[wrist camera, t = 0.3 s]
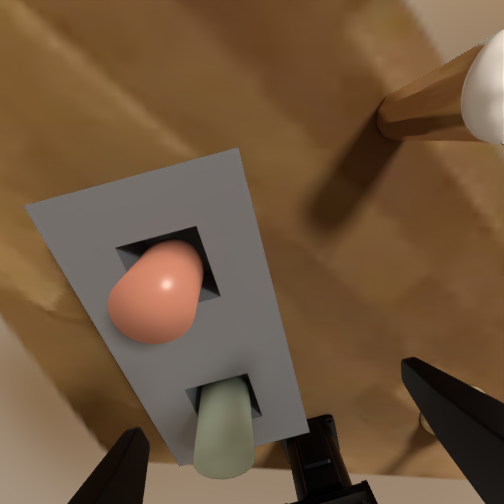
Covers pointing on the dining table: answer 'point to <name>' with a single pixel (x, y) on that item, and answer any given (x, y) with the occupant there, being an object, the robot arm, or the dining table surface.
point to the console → (210, 299)
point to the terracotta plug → (159, 293)
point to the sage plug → (224, 430)
